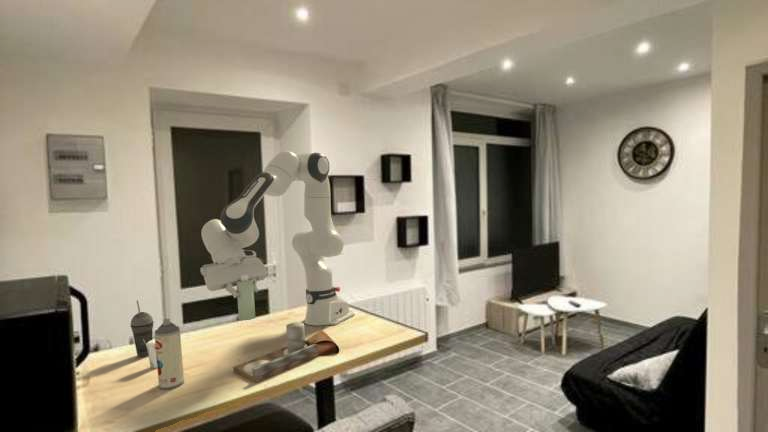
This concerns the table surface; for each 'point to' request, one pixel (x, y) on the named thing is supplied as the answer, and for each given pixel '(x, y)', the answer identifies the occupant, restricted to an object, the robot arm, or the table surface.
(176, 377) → the aerosol can
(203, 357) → the table surface
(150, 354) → the milkshake
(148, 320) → the beverage cup
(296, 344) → the rail stand
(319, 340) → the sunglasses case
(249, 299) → the slim bottle
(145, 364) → the table surface
